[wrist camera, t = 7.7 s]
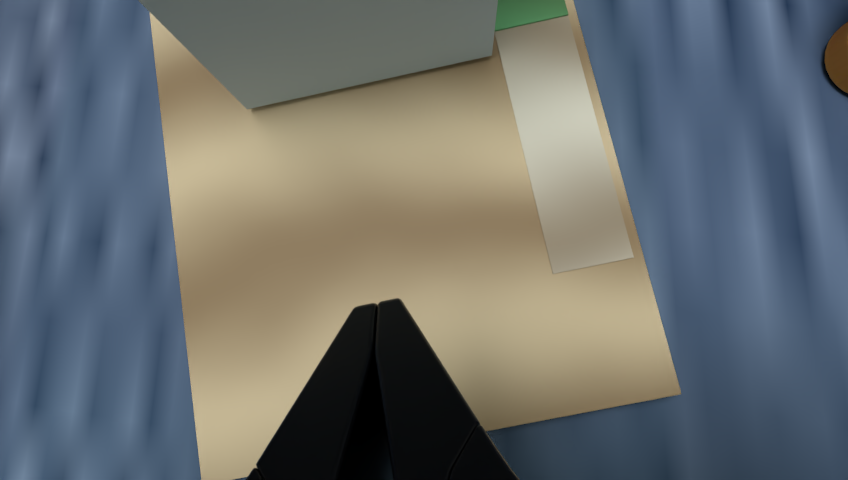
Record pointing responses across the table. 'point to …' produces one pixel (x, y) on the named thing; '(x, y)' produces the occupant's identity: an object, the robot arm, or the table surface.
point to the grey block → (323, 41)
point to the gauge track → (410, 234)
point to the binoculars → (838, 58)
